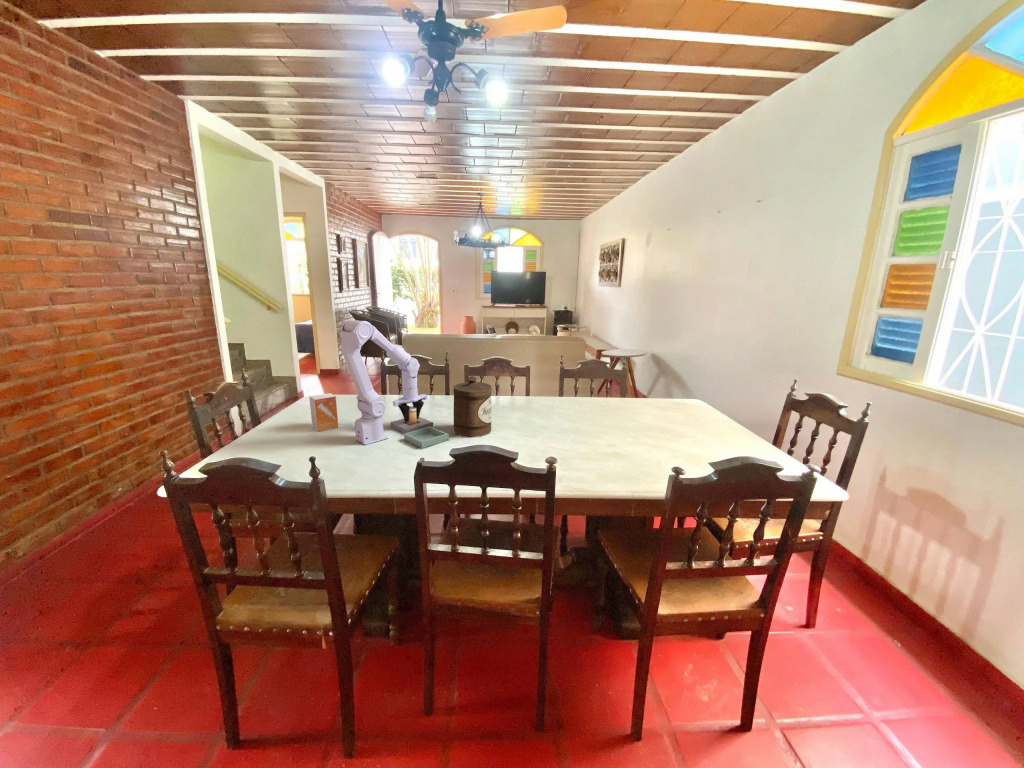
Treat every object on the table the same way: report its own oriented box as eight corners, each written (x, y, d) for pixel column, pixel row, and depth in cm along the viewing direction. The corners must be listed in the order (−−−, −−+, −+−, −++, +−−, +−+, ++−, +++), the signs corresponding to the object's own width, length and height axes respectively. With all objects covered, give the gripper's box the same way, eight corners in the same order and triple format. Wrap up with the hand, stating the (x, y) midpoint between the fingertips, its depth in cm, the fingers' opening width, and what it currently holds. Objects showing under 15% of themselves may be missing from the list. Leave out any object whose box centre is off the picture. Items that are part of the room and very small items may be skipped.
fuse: (410, 429, 163) (409, 410, 161) (404, 426, 166) (403, 407, 164) (419, 427, 166) (418, 408, 164) (413, 424, 169) (412, 405, 167)
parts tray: (422, 449, 144) (421, 442, 144) (404, 440, 152) (403, 433, 151) (448, 440, 152) (448, 434, 152) (430, 432, 160) (430, 426, 160)
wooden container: (490, 437, 156) (490, 381, 150) (451, 437, 156) (450, 380, 150) (492, 424, 170) (492, 372, 165) (456, 424, 170) (455, 372, 165)
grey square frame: (407, 434, 158) (406, 429, 157) (390, 426, 166) (390, 422, 165) (433, 427, 166) (432, 422, 165) (416, 419, 174) (416, 415, 174)
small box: (318, 432, 159) (314, 399, 156) (312, 427, 163) (308, 396, 160) (339, 427, 164) (336, 395, 161) (332, 423, 169) (329, 392, 166)
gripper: (399, 392, 154) (400, 426, 157) (431, 385, 164) (432, 418, 167) (389, 388, 159) (391, 422, 162) (421, 382, 169) (422, 414, 172)
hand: (411, 419), depth 165 cm, fingers closed on fuse, 4 cm apart
